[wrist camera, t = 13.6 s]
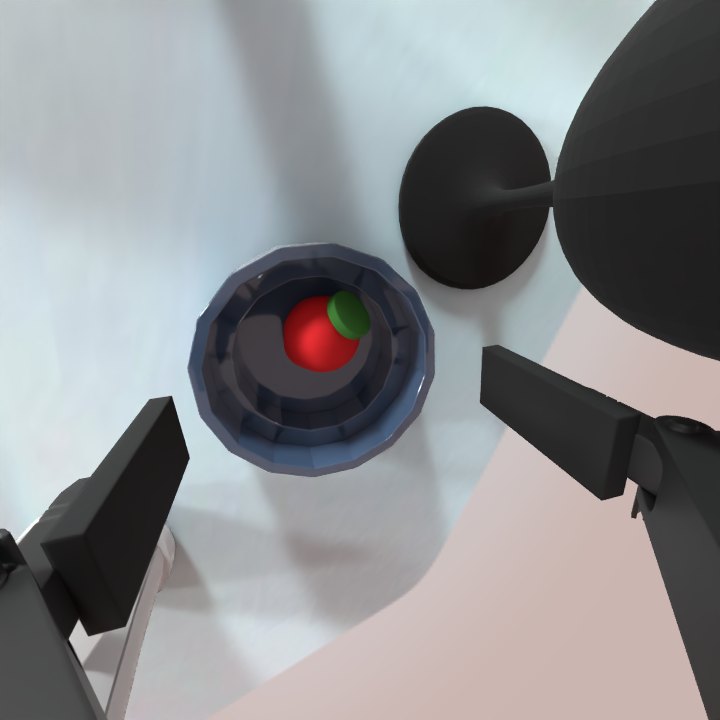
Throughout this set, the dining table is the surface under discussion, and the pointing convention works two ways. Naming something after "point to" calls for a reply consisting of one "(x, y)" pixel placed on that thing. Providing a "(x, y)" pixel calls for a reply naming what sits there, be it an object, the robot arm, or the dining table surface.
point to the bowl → (301, 386)
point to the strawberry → (325, 331)
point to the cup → (121, 636)
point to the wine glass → (594, 185)
